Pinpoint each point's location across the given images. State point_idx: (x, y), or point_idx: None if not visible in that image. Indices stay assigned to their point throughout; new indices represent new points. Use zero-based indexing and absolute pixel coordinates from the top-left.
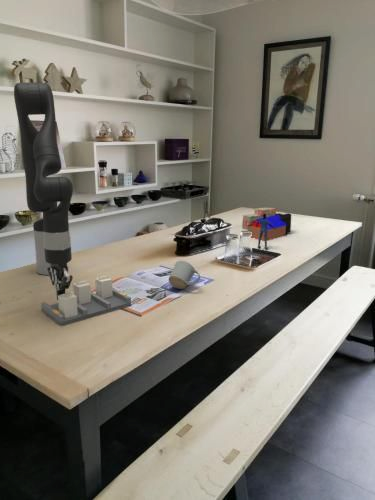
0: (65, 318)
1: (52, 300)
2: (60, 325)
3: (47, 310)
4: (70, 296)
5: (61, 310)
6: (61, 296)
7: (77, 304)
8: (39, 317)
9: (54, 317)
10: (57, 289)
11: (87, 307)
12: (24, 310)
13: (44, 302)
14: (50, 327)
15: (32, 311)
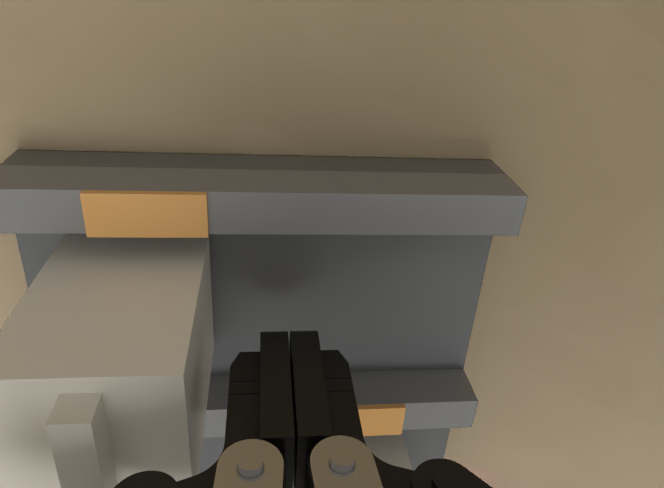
0: (63, 238)
1: (613, 317)
2: (24, 152)
3: (344, 178)
4: (46, 471)
5: (128, 267)
6: (98, 397)
7: (217, 425)
8: (364, 76)
9: (163, 168)
10: (248, 449)
11: (207, 452)
12: (641, 31)
13: (499, 225)
14: (44, 56)
15: (552, 85)
